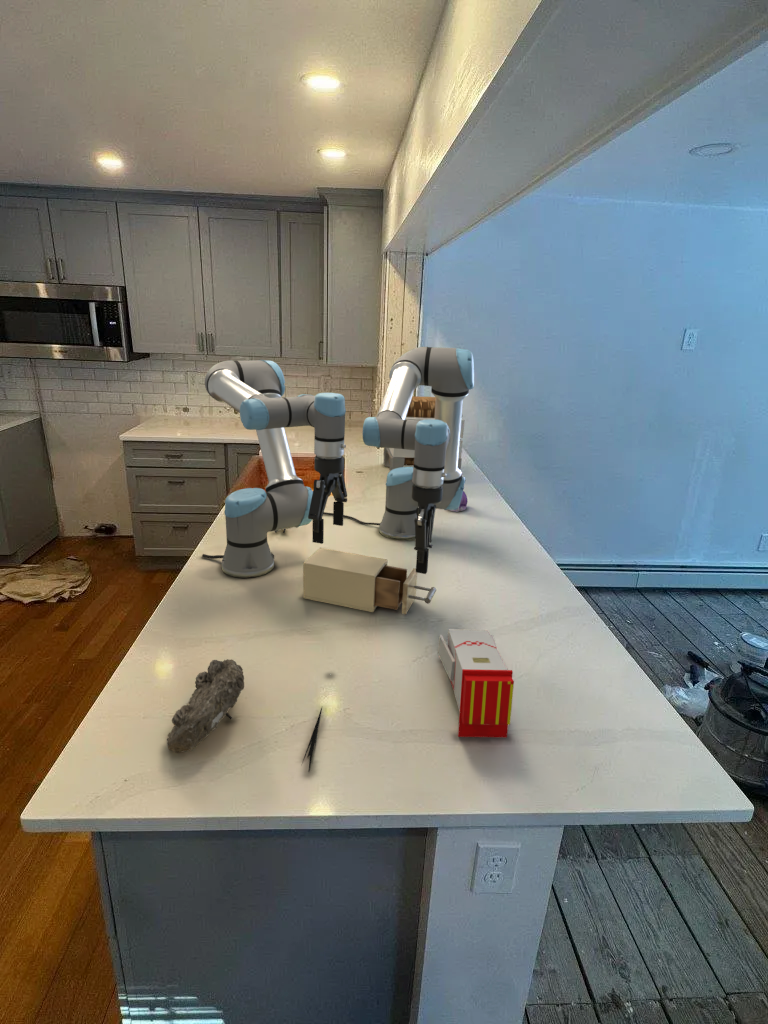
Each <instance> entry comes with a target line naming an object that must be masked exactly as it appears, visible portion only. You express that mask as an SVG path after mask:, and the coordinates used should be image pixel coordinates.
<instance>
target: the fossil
mask: <svg viewBox="0 0 768 1024" xmlns="http://www.w3.org/2000/svg"><path fill="white" fill-rule="evenodd" d="M243 670H244V669H243V667H242V665H240V664H237V662H236V661H235V660H234V659H232V658H231V659H227V658H226V659H224V660H223V661H222V660H217V659H212V660H211V661H210V663H209V665H208V666H207V671H201V672H199V673H198V674H197V675H196V676H195V680H194V684H195V685H194V687H195V689H194V690H193V693H192V694H191V697H190V698H189V700H188V704H184V705H182V706H181V707H180V709H177V710H176V711H175V713H174V715H173V716H172V718H171V723H172V724H173V727H172V730H171V731H170V732H168V734H167V738H166V741H167V742H166V745H167V749H168V750H169V751H173V752H174V753H176V754H178V753H182V752H188V751H189V752H192V751H193V750H195V748H196V747H197V746H199V744H200V743H201V742H203V741H204V740H205V739H206V738H207V737H208V736H209V735H210V734H211V733H212V732H214V730H215V729H217V727H218V726H219V724H220V722H221V721H222V720H223V719H224V718H225V716H226V717H227V719H229V720H233V717H232V715H230V714H229V710H230V709H231V708H234V706H235V704H236V703H237V702H238V699H239V697H240V695H241V693H242V691H243V690H245V689H244V688H245V675H244V671H243Z"/></svg>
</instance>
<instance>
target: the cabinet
mask: <svg viewBox="0 0 768 1024" xmlns="http://www.w3.org/2000/svg"><path fill="white" fill-rule="evenodd" d="M385 565H387V566H388V558H382V557H376V556H370V555H364V554H358V553H353V552H347V551H343V550H342V551H341V550H336V549H330V548H325V547H319V548H318V549H317V550H316V551H315V552H313V553H312V554H311V555H310V556H309V557H308V558H307V559H306V560H305V561H303V563H302V572H303V573H302V585H303V586H302V587H303V588H302V590H303V591H302V593H303V594H302V595H303V597H302V598H303V599H306V600H309V601H310V600H311V601H314V602H315V601H316V602H319V603H326V604H331V605H335V606H340V607H345V608H351V609H355V610H360V611H365V612H370V613H374V612H375V610H376V608H377V607H378V606H375V605H374V600H375V577H376V576H377V575H378V574H379V572H380V571H381V570H382V568H383V567H384V566H385Z"/></svg>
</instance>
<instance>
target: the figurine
mask: <svg viewBox="0 0 768 1024" xmlns="http://www.w3.org/2000/svg"><path fill="white" fill-rule="evenodd" d="M461 472H462V474H461V476H463V471H461ZM467 506H468V496H467V494H466V492H465V491H464V490H463V494H462V498H461V502H460V506H459V508H458V509H456V510H449V511H450V512H463V511H465V510H466V509H467Z"/></svg>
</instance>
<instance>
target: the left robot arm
mask: <svg viewBox="0 0 768 1024" xmlns="http://www.w3.org/2000/svg"><path fill="white" fill-rule="evenodd" d="M285 384H286V380H285V376H284V372H283V371H282V368H281V367H280V366H279V365H278V363H277V362H275V361H273V360H268V359H267V360H266V359H257V360H256V359H255V360H224V361H220V362H218V363H215V364H214V365H213V366H211V367H210V368H209V369H208V371H207V372H206V374H205V377H204V387H205V390H206V392H207V394H208V395H209V396H210V397H211V398H212V399H214V400H215V401H217V402H219V403H225V404H227V405H228V406H229V407H231V408H232V409H233V410H235V411H236V412H238V413H239V417H240V421H241V422H240V423H242V426H243V428H245V429H246V430H248V431H253V430H254V431H255V433H256V437H257V441H258V444H259V447H260V452H261V456H262V461H263V464H264V469H265V472H266V477H267V481H268V482H267V485H266V486H265V489H263V488H261V487H253V488H252V487H246V488H241V489H237V490H235V491H233V492H231V493H229V495H227V497H226V498H225V500H224V517H225V519H224V520H225V534H226V536H225V537H226V545H225V549H224V553H223V554H216V555H215V554H214V555H210V554H206V553H205V554H204V553H202V554H201V556H202V558H205V559H210V560H214V559H216V560H217V559H221V571H222V572H223V573H224V574H226V575H227V576H230V577H233V578H234V577H235V578H244V579H245V578H256V577H260V576H264V575H266V574H268V573H270V572H272V571H273V569H274V567H275V555H274V553H273V552H272V551H271V548H270V546H269V543H268V533H270V532H275V531H277V532H278V531H283V530H284V529H286V530H288V529H294V528H300V527H303V526H307V525H309V524H310V523H312V543H315V544H321V545H322V544H324V532H325V531H324V530H325V529H324V523H325V522H324V518H323V515H324V514H323V513H324V512H325V509H326V505H327V502H328V498H329V497H330V496H331V495H332V497H333V499H334V501H333V503H332V505H333V507H332V508H333V509H332V513H333V515H332V516H333V517H332V519H333V520H332V524H333V525H334V526H341V527H343V526H344V517H343V515H344V513H345V512H344V511H345V510H344V509H345V507H344V506H345V505H344V504H345V503H347V502H348V491H347V487H346V482H345V477H344V470H345V457H344V455H345V449H346V447H347V445H346V444H345V434H346V432H345V431H346V411H347V409H346V399H345V397H344V395H343V394H342V393H336V392H319V393H316V394H315V395H313V394H310V393H309V394H307V393H306V394H305V393H301V394H298V395H296V396H287V397H283V396H284V394H285V391H286V385H285ZM295 427H296V428H297V427H312V428H314V440H313V441H314V443H313V445H314V448H313V449H314V450H313V453H314V455H315V456H314V460H313V461H314V462H313V463H314V464H313V465H314V471H316V472H317V473H319V479H314V480H313V488H312V487H310V486H305V484H304V480H303V479H302V478H300V476H298V475H297V473H296V468H295V465H294V460H293V457H292V452H291V449H290V445H289V441H288V437H287V433H286V430H285V428H295ZM282 529H283V530H282Z"/></svg>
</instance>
